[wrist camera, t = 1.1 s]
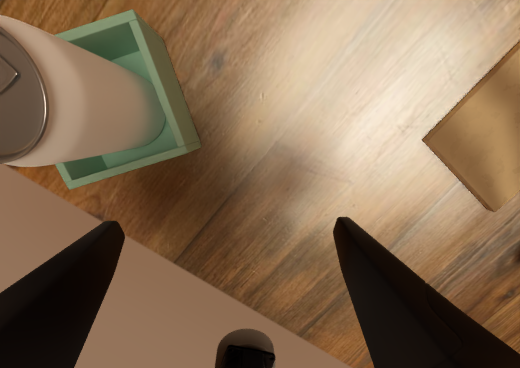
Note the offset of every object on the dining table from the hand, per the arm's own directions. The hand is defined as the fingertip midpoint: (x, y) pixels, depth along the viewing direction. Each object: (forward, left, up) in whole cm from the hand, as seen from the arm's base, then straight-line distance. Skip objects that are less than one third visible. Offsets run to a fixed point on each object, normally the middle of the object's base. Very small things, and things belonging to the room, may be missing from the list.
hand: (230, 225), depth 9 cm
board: (+12, -25, -14) cm, 31 cm away
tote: (+2, +11, -14) cm, 18 cm away
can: (+2, +11, -13) cm, 17 cm away
